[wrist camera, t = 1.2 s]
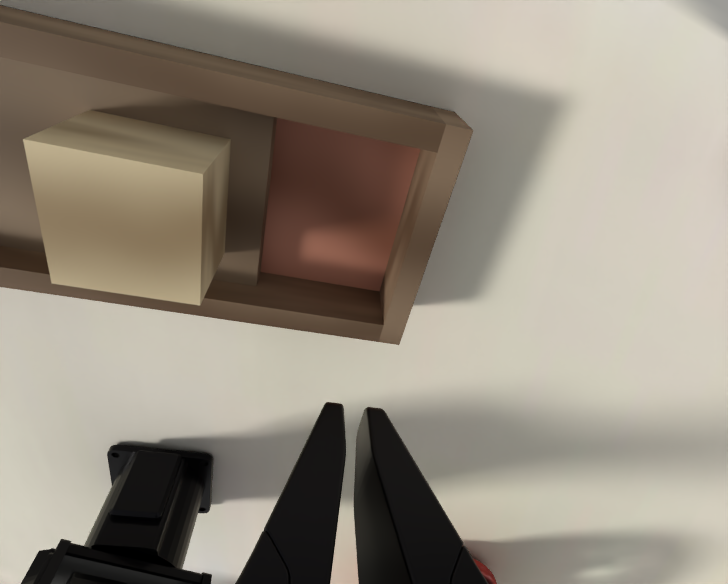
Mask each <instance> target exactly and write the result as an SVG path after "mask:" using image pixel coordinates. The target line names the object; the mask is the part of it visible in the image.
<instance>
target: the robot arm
mask: <svg viewBox="0 0 728 584" xmlns="http://www.w3.org/2000/svg"><path fill="white" fill-rule="evenodd" d="M107 456H108V462H109V469H110V475H111V482H112V488H111V490H110V492H109V494H108V496H107V498H106V500H105V503H104V505H103V507H102V509H101V511H100V513H99V515H98V517H97V519H96V522H95V524H94V526H93V528H92V530H91V532H90V534H89V536H88V538H87V541H86V543H85V545H84V546H81V545H77V544H73V543H71V541H69V540H64V539H61V540H60V542H59V544H58V546H57V548H56V549H53V548H52V549H49V550H42V551H39V552H38V554H37V556H36V557H35V559H34V561H33V563H32V565H31V566H30V568H29V570H28V572H27V574H26V576H25V577H24V579H23V581H22V583H21V584H211V577H212V575H211V574H208V573H204V572H203V573H202V574H200V573H196V572H192V571H187V570H183V569H182V568H183V564H184V561H185V557H186V554H187V550H188V546H189V543H190V539H191V536H192V532H193V529H194V525H195V522H196V518H197V515H198V513H207V512H209V510H210V506H211V493H212V475H213V457H212V456H211V455H209V454H204V453H194V452H184V451H174V450H163V449H153V448H143V447H133V446H123V445H113V446H111V447H110V449H109V451H108V453H107ZM345 457H346V439H345V422H344V407H343V405H342V404H339V403H331V402H327V403H325V405H324V407H323V409H322V411H321V413H320V415H319V417H318V419H317V421H316V423H315V425H314V427H313V429H312V431H311V433H310V435H309V437H308V439H307V442H306V444H305V446H304V448H303V450H302V452H301V454H300V456H299V458H298V460H297V462H296V464H295V466H294V468H293V470H292V472H291V474H290V477H289V479H288V481H287V483H286V485H285V487H284V489H283V491H282V493H281V495H280V497H279V499H278V501H277V503H276V505H275V507H274V509H273V511H272V514H271V516H270V518H269V520H268V522H267V524H266V526H265V528H264V531H263V532H262V534H261V536H260V538H259V540H258V542H257V544H256V546H255V548H254V550H253V552H252V554H251V556H250V558H249V560H248V561H247V563H246V565H245V567H244V569H243V571H242V573H241V575H240V576H239V578H238V580H237V581H236V583H235V584H330V579H331V571H332V563H333V555H334V547H335V539H336V531H337V523H338V515H339V507H340V499H341V491H342V482H343V474H344V466H345ZM354 520H355V535H356V549H357V564H358V578H359V584H488V582H487V581H486V579H485V577H484V576H483V574H482V573H481V571H480V569H479V568H478V566H477V565H476V563H475V561H474V560H473V558H472V556H471V555H470V553H469V551H468V550H467V548H466V547H465V546H463V542H462V540H461V538H460V537H459V535H458V533H457V531H456V530H455V528H454V526H453V525H452V523H451V521H450V520H449V518H448V516H447V515H446V513H445V511H444V510H443V508H442V506H441V505H440V503H439V501H438V500H437V498H436V496H435V495H434V493H433V491H432V490H431V488H430V486H429V485H428V483H427V481H426V480H425V478H424V476H423V475H422V473H421V471H420V470H419V468H418V466H417V465H416V463H415V461H414V459H413V458H412V456H411V454H410V453H409V451H408V449H407V448H406V446H405V444H404V443H403V441H402V439H401V438H400V436H399V434H398V433H397V431H396V429H395V428H394V426H393V424H392V423H391V421H390V419H389V418H388V416H387V414H386V413H385V411H384V410H383V409H380V408H372V407H367V408H366V409H365V410H364V413H363V416H362V419H361V422H360V425H359V428H358V432H357V439H356V460H355V482H354Z"/></svg>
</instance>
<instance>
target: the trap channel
mask: <svg viewBox="0 0 728 584" xmlns="http://www.w3.org/2000/svg"><path fill="white" fill-rule="evenodd" d="M88 110H93V111H98V112H102V113H107V114H112V115H117V116H122V117H126V118H131V119H136V120H141V121H146V122H150V123H155V124H160V125H165V126H170V127H175V128H179V129H184V130H189V131H194V132H199V133H203V134H208V135H213V136H218V137H223V138H227V139H231V145H230V164H229V182H228V200H227V219H226V237H225V253H224V255H223V257H222V260H221V262H220V264H219V266H218V268H217V270H216V273H215V275H214V277H213V279H212V281H211V283H210V285H209V288H208V290H207V292H206V294H205V296H204V298H203V301H202V303H201V305H193V304H186V303H179V302H173V301H166V300H159V299H153V298H146V297H139V296H133V295H126V294H119V293H112V292H106V291H99V290H92V289H86V288H79V287H72V286H65V285H59V284H52V283H51V278H50V273H49V268H48V263H47V258H46V253H45V248H44V243H43V238H42V233H41V228H40V222H39V217H38V212H37V207H36V202H35V197H34V192H33V187H32V182H31V177H30V172H29V167H28V162H27V157H26V152H25V147H24V142H23V139H25V138H27V137H29V136H31V135H34V134H36V133H38V132H40V131H43V130H45V129H47V128H50V127H52V126H54V125H56V124H59V123H61V122H63V121H66V120H68V119H70V118H72V117H75V116H77V115H79V114H82V113H84V112H86V111H88ZM472 133H473V130H472V129H471V128H470V127H469V126H468V125H467V124H466V123H465V122H464V121H463V120H462V119H461V118H460V117H459V116H458V115H457V114H456V113H455V112H452V111H448V110H443V109H439V108H435V107H431V106H426V105H422V104H418V103H414V102H409V101H405V100H401V99H397V98H392V97H388V96H384V95H380V94H375V93H371V92H367V91H363V90H358V89H354V88H350V87H346V86H341V85H337V84H333V83H329V82H324V81H320V80H316V79H312V78H307V77H303V76H299V75H295V74H290V73H286V72H282V71H278V70H273V69H269V68H265V67H261V66H256V65H252V64H248V63H244V62H239V61H235V60H231V59H227V58H222V57H218V56H214V55H210V54H205V53H201V52H197V51H193V50H188V49H184V48H180V47H176V46H171V45H167V44H163V43H159V42H154V41H150V40H146V39H142V38H137V37H133V36H129V35H125V34H120V33H116V32H112V31H108V30H103V29H99V28H95V27H91V26H86V25H82V24H78V23H74V22H69V21H65V20H61V19H57V18H52V17H48V16H44V15H40V14H35V13H31V12H27V11H23V10H18V9H14V8H10V7H6V6H1V5H0V287H5V288H12V289H19V290H26V291H33V292H40V293H47V294H54V295H60V296H67V297H74V298H81V299H88V300H95V301H102V302H108V303H115V304H122V305H129V306H136V307H143V308H150V309H157V310H163V311H170V312H177V313H184V314H191V315H198V316H205V317H212V318H218V319H225V320H232V321H239V322H246V323H253V324H260V325H266V326H273V327H280V328H287V329H294V330H301V331H308V332H315V333H321V334H328V335H335V336H342V337H349V338H356V339H363V340H370V341H376V342H383V343H390V344H397V345H399V344H400V341H401V338H402V335H403V332H404V329H405V326H406V323H407V320H408V318H409V315H410V312H411V309H412V306H413V303H414V300H415V297H416V294H417V292H418V289H419V286H420V283H421V280H422V277H423V274H424V271H425V268H426V266H427V263H428V260H429V257H430V254H431V251H432V248H433V245H434V242H435V240H436V237H437V234H438V231H439V228H440V225H441V222H442V219H443V216H444V214H445V211H446V208H447V205H448V202H449V199H450V196H451V193H452V190H453V188H454V185H455V182H456V179H457V176H458V173H459V170H460V167H461V164H462V162H463V159H464V156H465V153H466V150H467V147H468V144H469V141H470V138H471V136H472Z"/></svg>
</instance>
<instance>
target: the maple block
mask: <svg viewBox="0 0 728 584" xmlns="http://www.w3.org/2000/svg"><path fill="white" fill-rule="evenodd" d="M23 142H24V147H25V152H26V157H27V162H28V167H29V172H30V177H31V182H32V187H33V192H34V197H35V202H36V207H37V212H38V217H39V222H40V228H41V233H42V238H43V243H44V248H45V253H46V258H47V263H48V268H49V273H50V278H51V283H52V284H59V285H65V286H72V287H79V288H86V289H92V290H99V291H106V292H112V293H119V294H126V295H133V296H139V297H146V298H153V299H159V300H166V301H173V302H179V303H186V304H193V305H201V303H202V301H203V298H204V296H205V294H206V292H207V290H208V288H209V285H210V283H211V281H212V279H213V277H214V275H215V273H216V270H217V268H218V266H219V264H220V262H221V260H222V257H223V255H224V253H225V237H226V219H227V200H228V182H229V164H230V145H231V139H227V138H223V137H218V136H213V135H208V134H203V133H199V132H194V131H189V130H184V129H179V128H175V127H170V126H165V125H160V124H155V123H150V122H146V121H141V120H136V119H131V118H126V117H122V116H117V115H112V114H107V113H102V112H98V111H93V110H88V111H86V112H84V113H82V114H79V115H77V116H75V117H72V118H70V119H68V120H66V121H63V122H61V123H59V124H56V125H54V126H52V127H50V128H47V129H45V130H43V131H40V132H38V133H36V134H34V135H31V136H29V137H27V138H25V139H23Z"/></svg>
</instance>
